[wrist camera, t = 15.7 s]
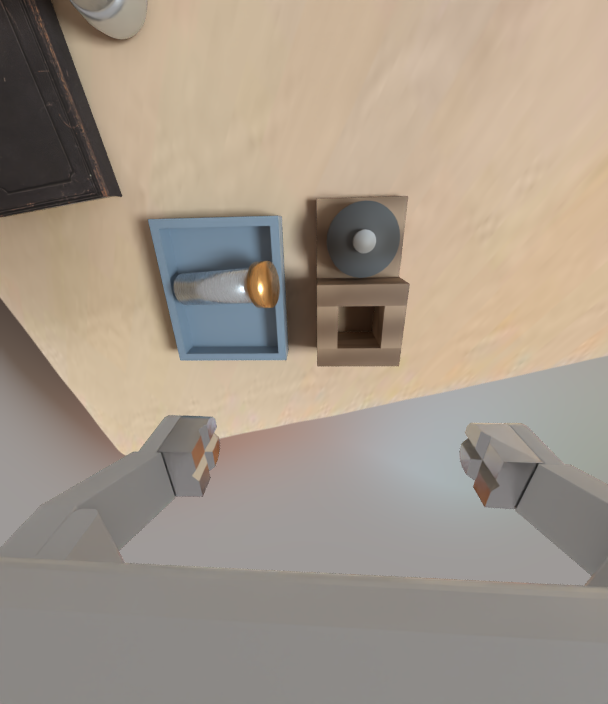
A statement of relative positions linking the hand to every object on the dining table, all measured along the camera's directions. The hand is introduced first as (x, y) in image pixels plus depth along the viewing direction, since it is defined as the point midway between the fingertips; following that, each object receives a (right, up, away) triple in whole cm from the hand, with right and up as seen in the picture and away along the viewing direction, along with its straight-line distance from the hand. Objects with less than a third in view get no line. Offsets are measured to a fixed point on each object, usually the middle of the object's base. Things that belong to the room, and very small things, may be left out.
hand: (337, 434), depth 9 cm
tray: (-11, +11, +29) cm, 33 cm away
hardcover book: (-33, +31, +22) cm, 51 cm away
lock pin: (-16, +11, +27) cm, 33 cm away
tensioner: (+6, +12, +28) cm, 31 cm away
